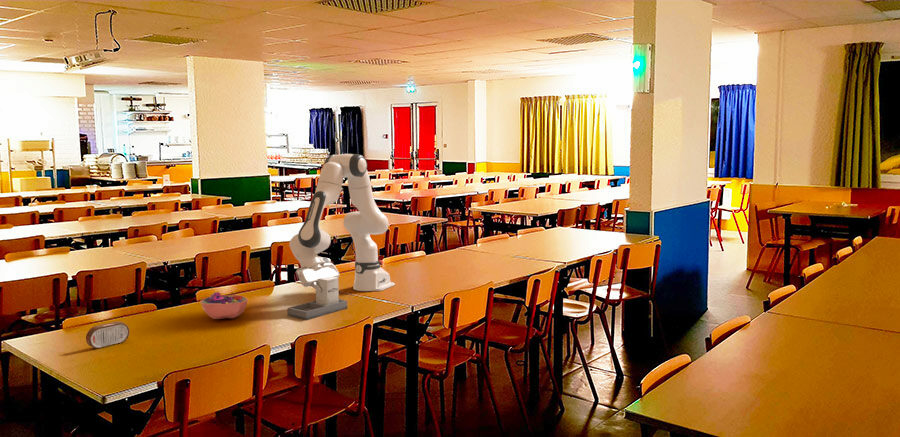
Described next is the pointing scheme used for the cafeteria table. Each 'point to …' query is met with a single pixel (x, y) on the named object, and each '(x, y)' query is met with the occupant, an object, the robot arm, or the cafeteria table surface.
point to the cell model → (224, 305)
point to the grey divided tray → (315, 309)
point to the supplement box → (327, 291)
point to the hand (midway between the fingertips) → (328, 289)
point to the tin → (107, 334)
